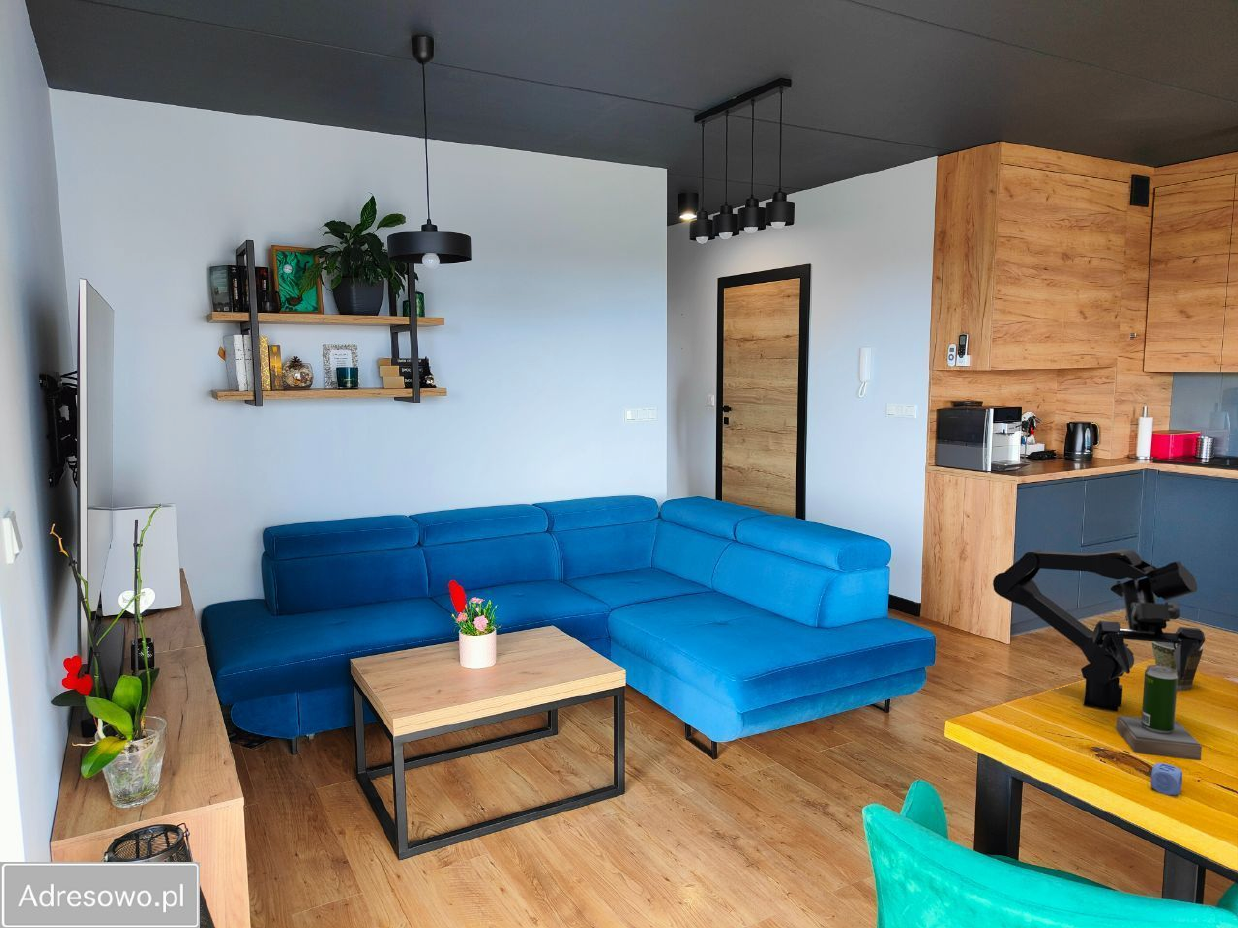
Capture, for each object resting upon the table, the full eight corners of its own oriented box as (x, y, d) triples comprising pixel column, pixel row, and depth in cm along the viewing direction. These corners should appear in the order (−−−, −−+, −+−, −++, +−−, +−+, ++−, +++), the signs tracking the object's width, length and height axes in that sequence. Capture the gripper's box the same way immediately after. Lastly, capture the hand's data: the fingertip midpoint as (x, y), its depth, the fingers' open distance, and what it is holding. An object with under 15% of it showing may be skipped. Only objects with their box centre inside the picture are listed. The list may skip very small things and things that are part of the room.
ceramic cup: (1147, 674, 199) (1150, 634, 198) (1197, 682, 194) (1200, 641, 193) (1150, 691, 187) (1153, 649, 186) (1203, 700, 182) (1207, 657, 181)
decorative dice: (1181, 789, 142) (1183, 767, 141) (1177, 798, 139) (1179, 775, 138) (1154, 782, 144) (1155, 760, 144) (1149, 790, 141) (1151, 768, 141)
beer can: (1157, 735, 156) (1162, 675, 155) (1134, 724, 162) (1138, 665, 161) (1180, 733, 158) (1185, 673, 156) (1157, 721, 163) (1161, 663, 162)
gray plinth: (1116, 729, 167) (1117, 714, 166) (1177, 735, 164) (1179, 721, 163) (1134, 752, 156) (1135, 737, 156) (1200, 759, 153) (1202, 744, 153)
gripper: (1099, 582, 167) (1111, 651, 158) (1205, 589, 162) (1224, 661, 153) (1087, 609, 176) (1097, 677, 166) (1187, 617, 170) (1204, 687, 161)
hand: (1154, 675), depth 161 cm, fingers open, 9 cm apart
